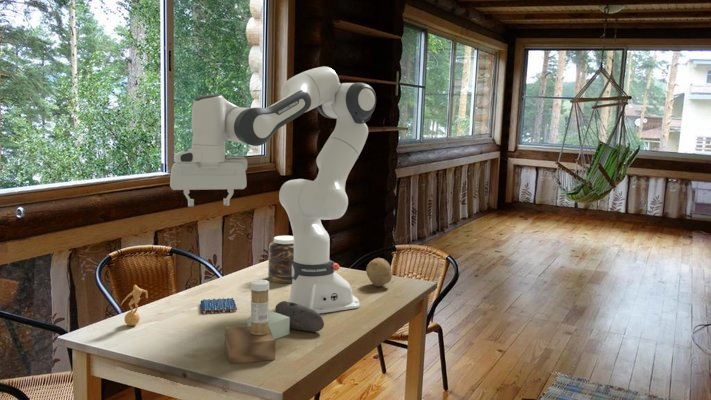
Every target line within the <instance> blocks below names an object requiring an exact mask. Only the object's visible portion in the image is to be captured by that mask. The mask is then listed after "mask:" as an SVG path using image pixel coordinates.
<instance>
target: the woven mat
mask: <svg viewBox="0 0 711 400" xmlns="http://www.w3.org/2000/svg"><path fill="white" fill-rule="evenodd" d="M200 309H201V310H200V311H201V312H200V313H201V314H203V315H206V314H210V313H211V314H217V313H218V314H222V312H223V314H224V313H229V312H230V313H233V312H234V313H236V312H237V311H238V308H237V305H236V302H235V299H234V297H232V298H229V297H227V298H224V297H222V298H218V299H217V298H211V299H210V298H208V299H201V300H200Z"/></svg>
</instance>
